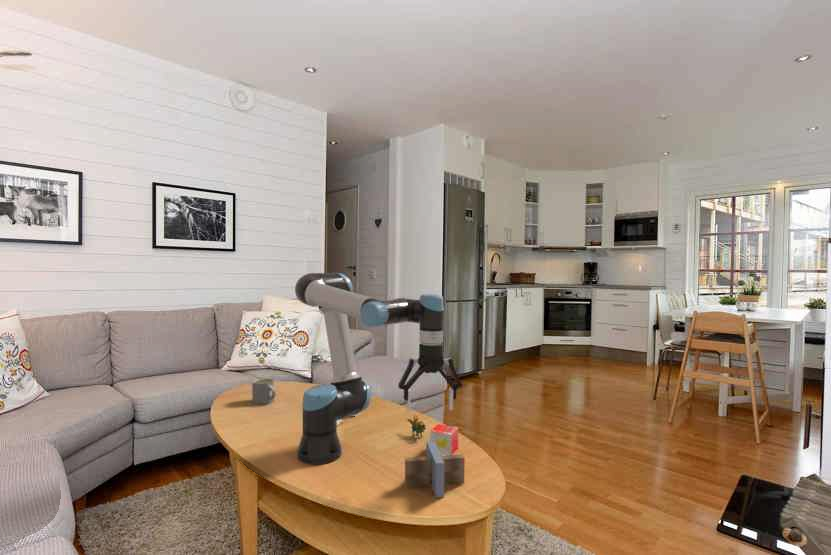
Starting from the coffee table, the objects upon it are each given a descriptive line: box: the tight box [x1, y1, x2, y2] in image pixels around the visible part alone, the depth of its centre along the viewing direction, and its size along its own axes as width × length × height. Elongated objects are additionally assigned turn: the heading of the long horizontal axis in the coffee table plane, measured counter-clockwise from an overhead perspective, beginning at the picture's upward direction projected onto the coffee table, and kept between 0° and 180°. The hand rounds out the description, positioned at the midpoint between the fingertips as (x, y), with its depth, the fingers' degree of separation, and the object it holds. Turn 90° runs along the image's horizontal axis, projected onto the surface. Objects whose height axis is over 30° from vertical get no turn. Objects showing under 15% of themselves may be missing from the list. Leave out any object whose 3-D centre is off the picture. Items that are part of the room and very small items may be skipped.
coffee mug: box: [251, 378, 277, 405], centre depth 211 cm, size 13×10×10 cm
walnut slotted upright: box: [404, 454, 466, 489], centre depth 134 cm, size 18×2×8 cm, turn 99°
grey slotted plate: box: [425, 440, 445, 499], centre depth 133 cm, size 2×16×10 cm, turn 9°
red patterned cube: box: [429, 423, 459, 456], centre depth 157 cm, size 8×8×8 cm
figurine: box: [406, 414, 427, 440], centre depth 171 cm, size 3×12×8 cm, turn 37°
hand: (429, 409), depth 139 cm, fingers open, 13 cm apart
